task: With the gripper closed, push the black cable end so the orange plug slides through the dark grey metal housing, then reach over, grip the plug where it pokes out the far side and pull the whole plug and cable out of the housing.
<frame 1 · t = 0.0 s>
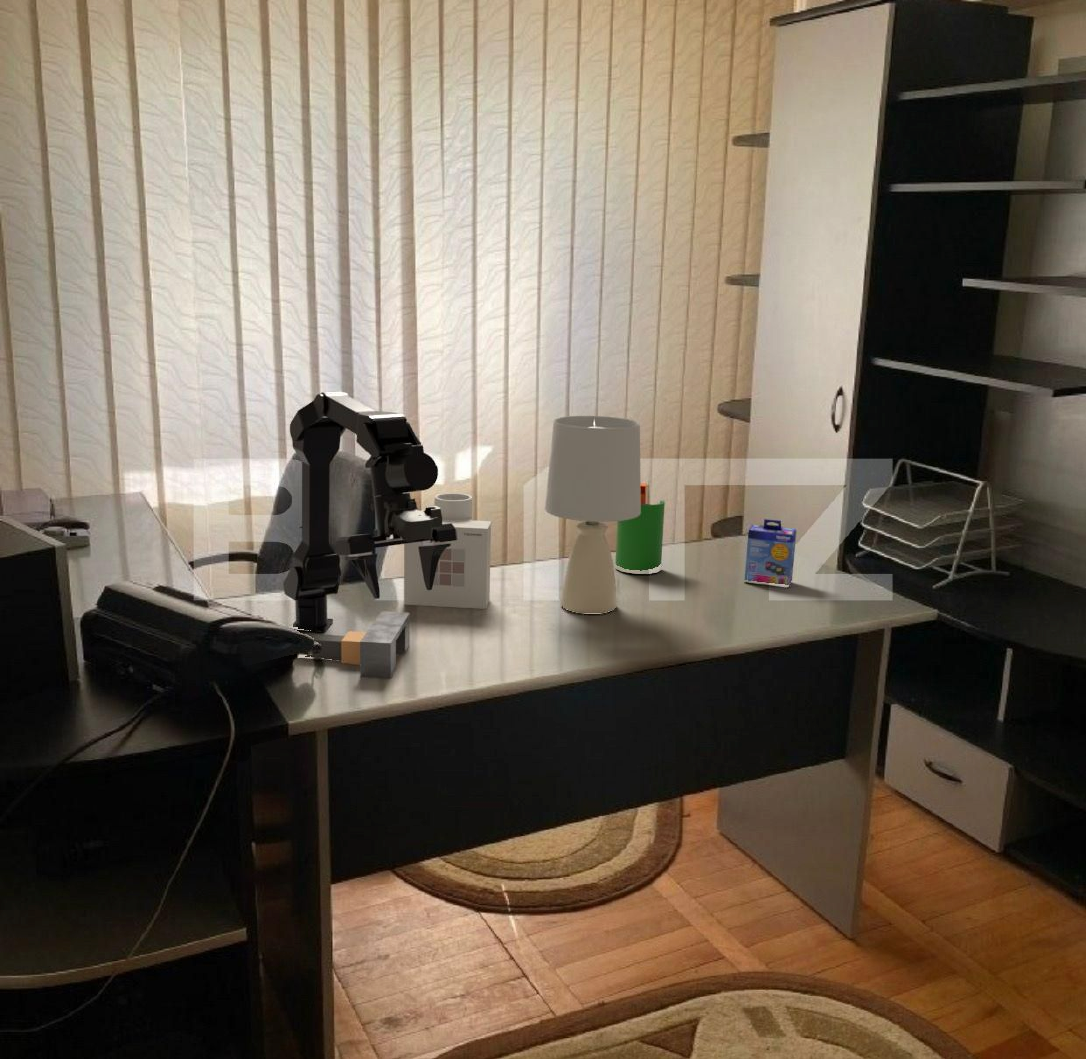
hand: (403, 594, 176), 15 cm above the table, tool pointing down, fingers open, 9 cm apart
housing: (385, 660, 191), on the table
lamp: (588, 607, 223), on the table
ink cartridge box: (767, 584, 244), on the table
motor: (638, 571, 251), on the table
control panel: (451, 594, 229), on the table
plug: (333, 657, 191), on the table
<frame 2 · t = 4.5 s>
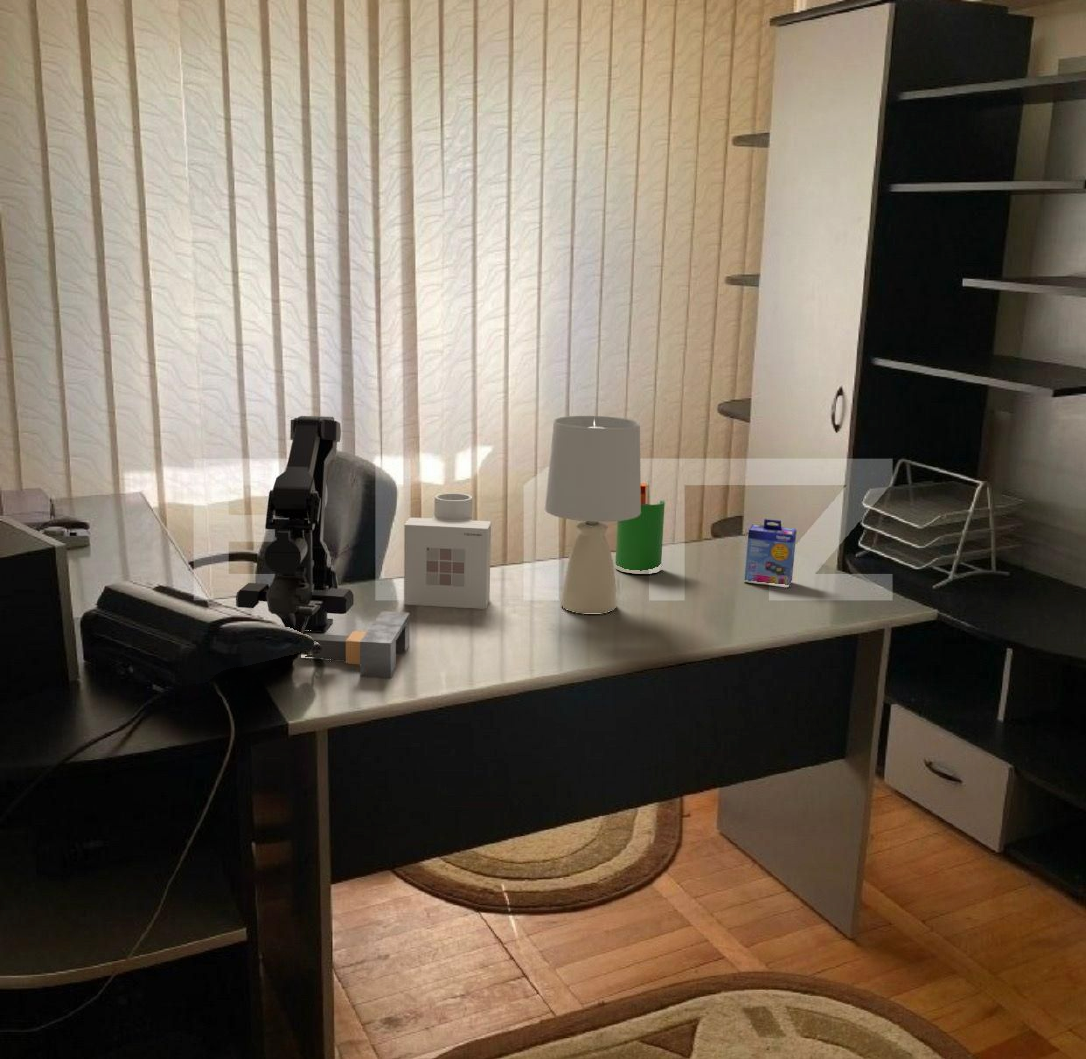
hand: (295, 646, 191), 2 cm above the table, tool pointing down, fingers closed
plug: (338, 657, 191), on the table, touching gripper
everything else where it was.
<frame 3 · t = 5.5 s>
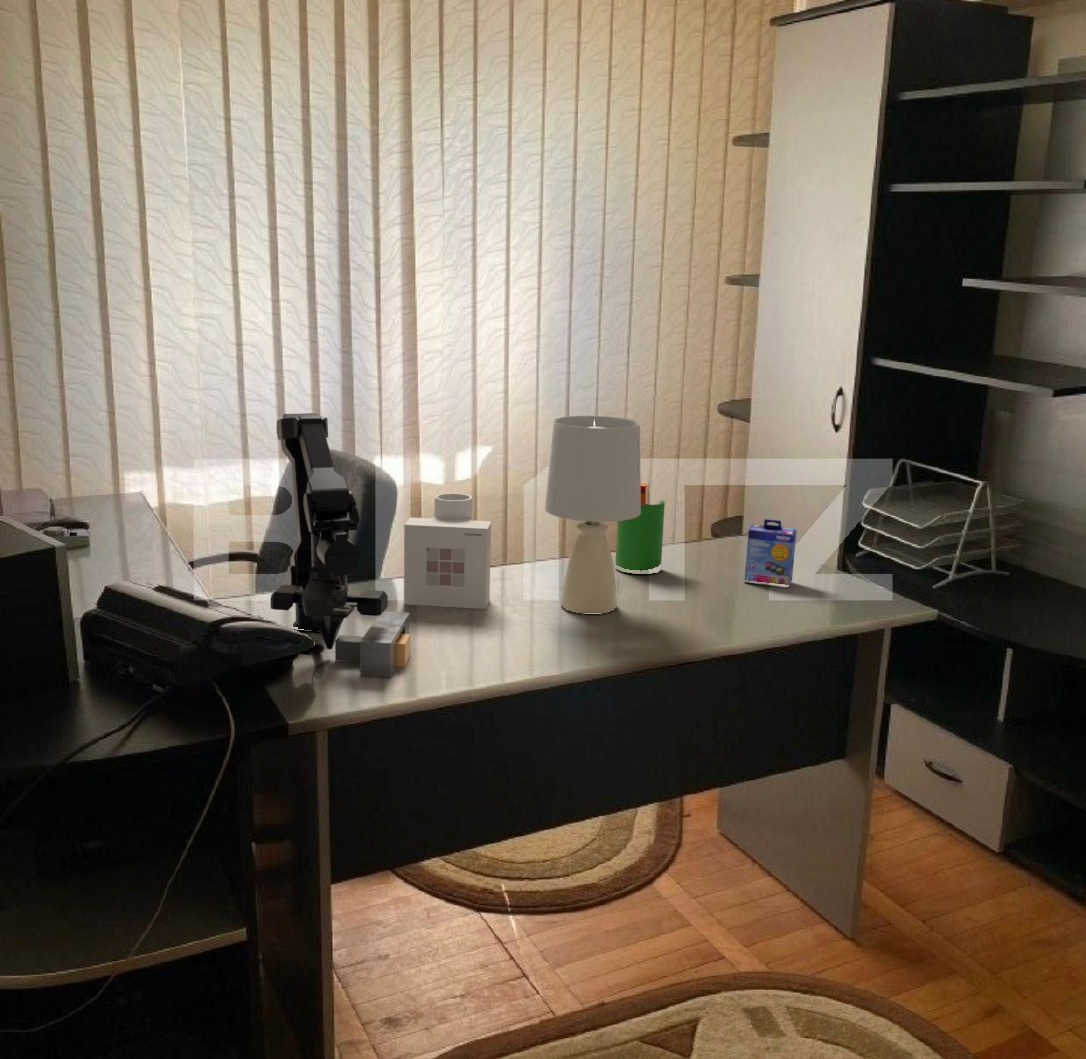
hand: (330, 648, 191), 2 cm above the table, tool pointing down, fingers closed
plug: (372, 659, 191), on the table, touching gripper
everything else where it was.
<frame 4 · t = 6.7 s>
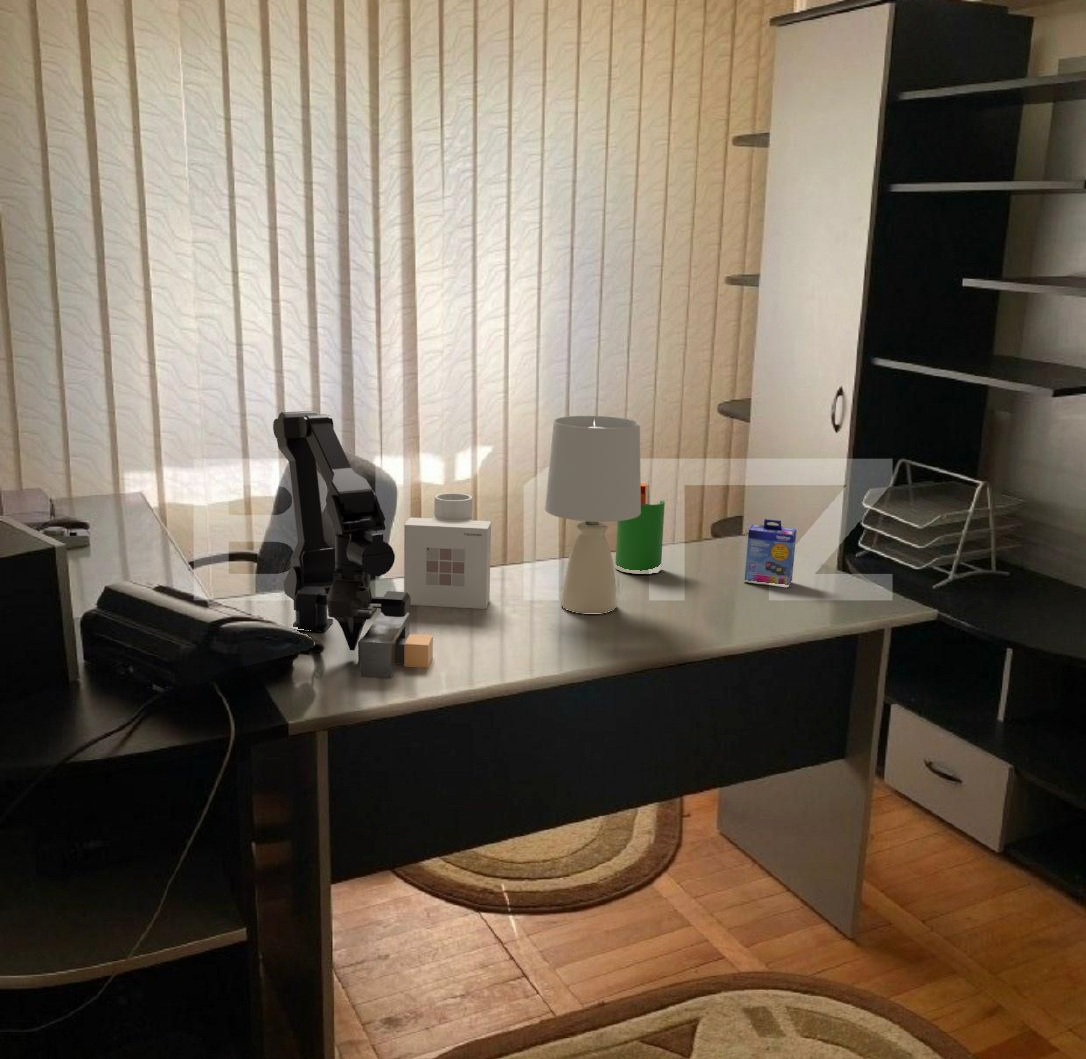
hand: (352, 649, 191), 2 cm above the table, tool pointing down, fingers closed
plug: (395, 660, 191), on the table, touching gripper
everything else where it was.
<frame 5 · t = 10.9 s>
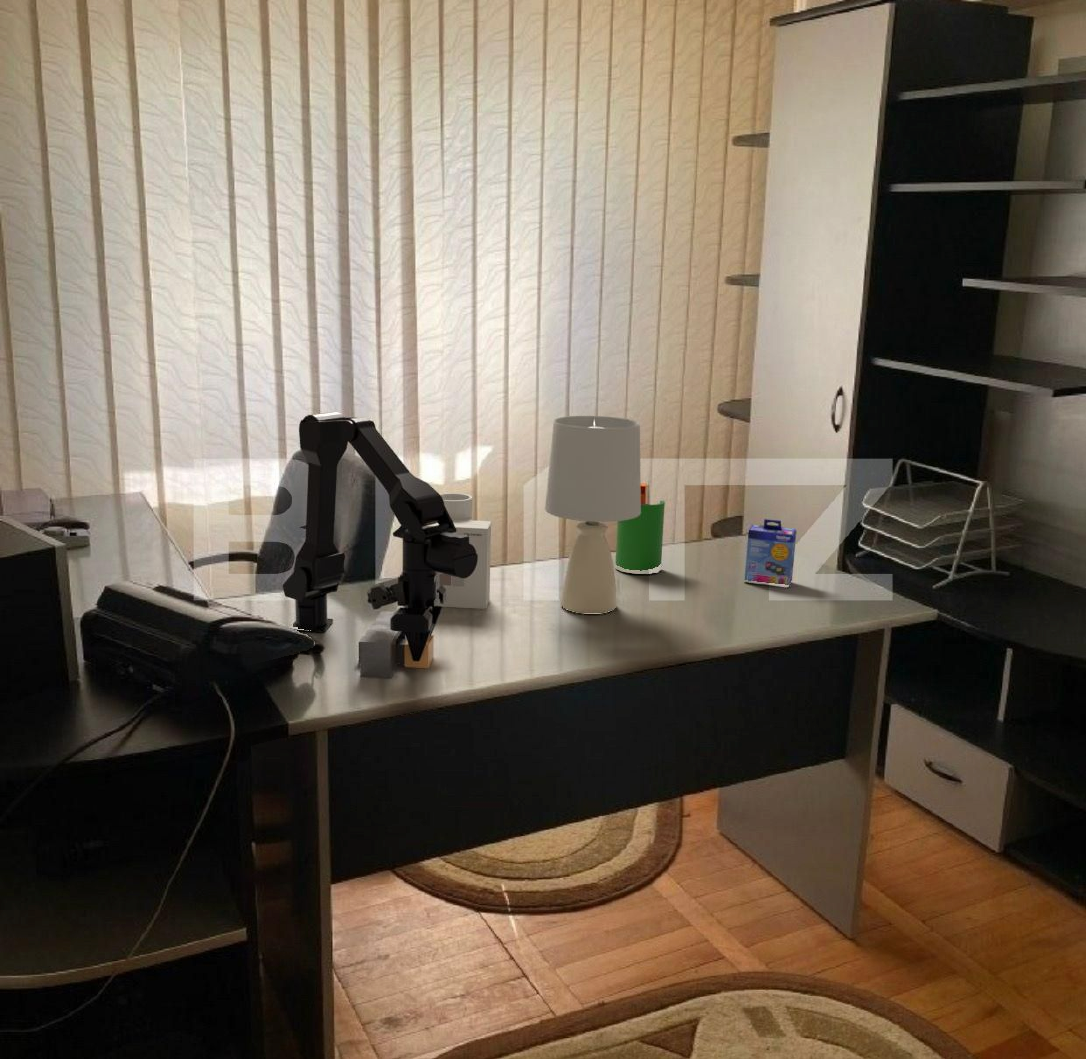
hand: (419, 655, 190), 1 cm above the table, tool pointing down, fingers closed on plug, 5 cm apart
plug: (395, 660, 191), on the table, touching gripper
everything else where it was.
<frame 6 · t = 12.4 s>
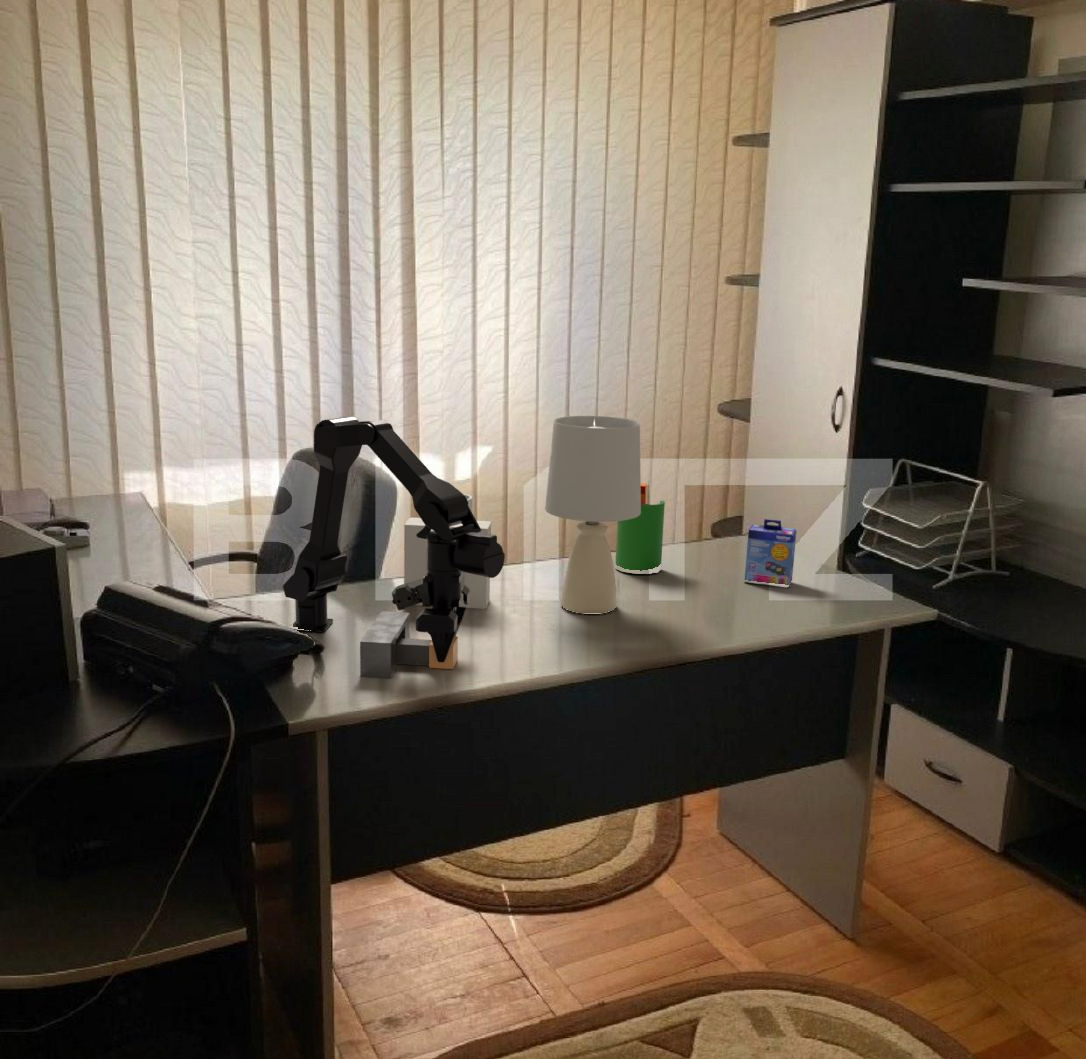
hand: (443, 656, 190), 1 cm above the table, tool pointing down, fingers closed on plug, 5 cm apart
plug: (420, 661, 190), on the table, touching gripper
everything else where it was.
when the fingers open (1 cm above the table, at t = 13.9 s): plug stays where it is, on the table.
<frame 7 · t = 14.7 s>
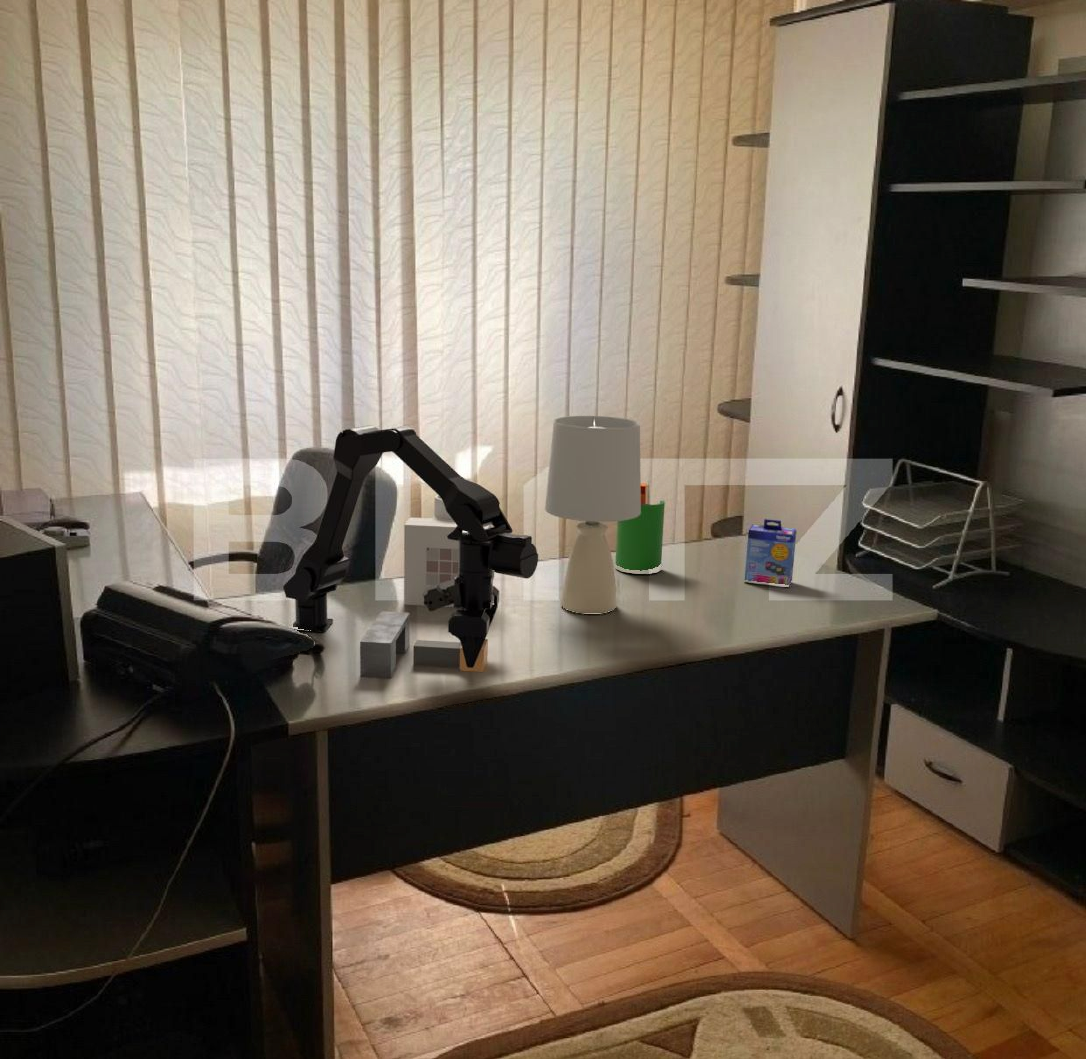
hand: (474, 657, 189), 1 cm above the table, tool pointing down, fingers open, 9 cm apart
plug: (450, 664, 190), on the table
everything else where it was.
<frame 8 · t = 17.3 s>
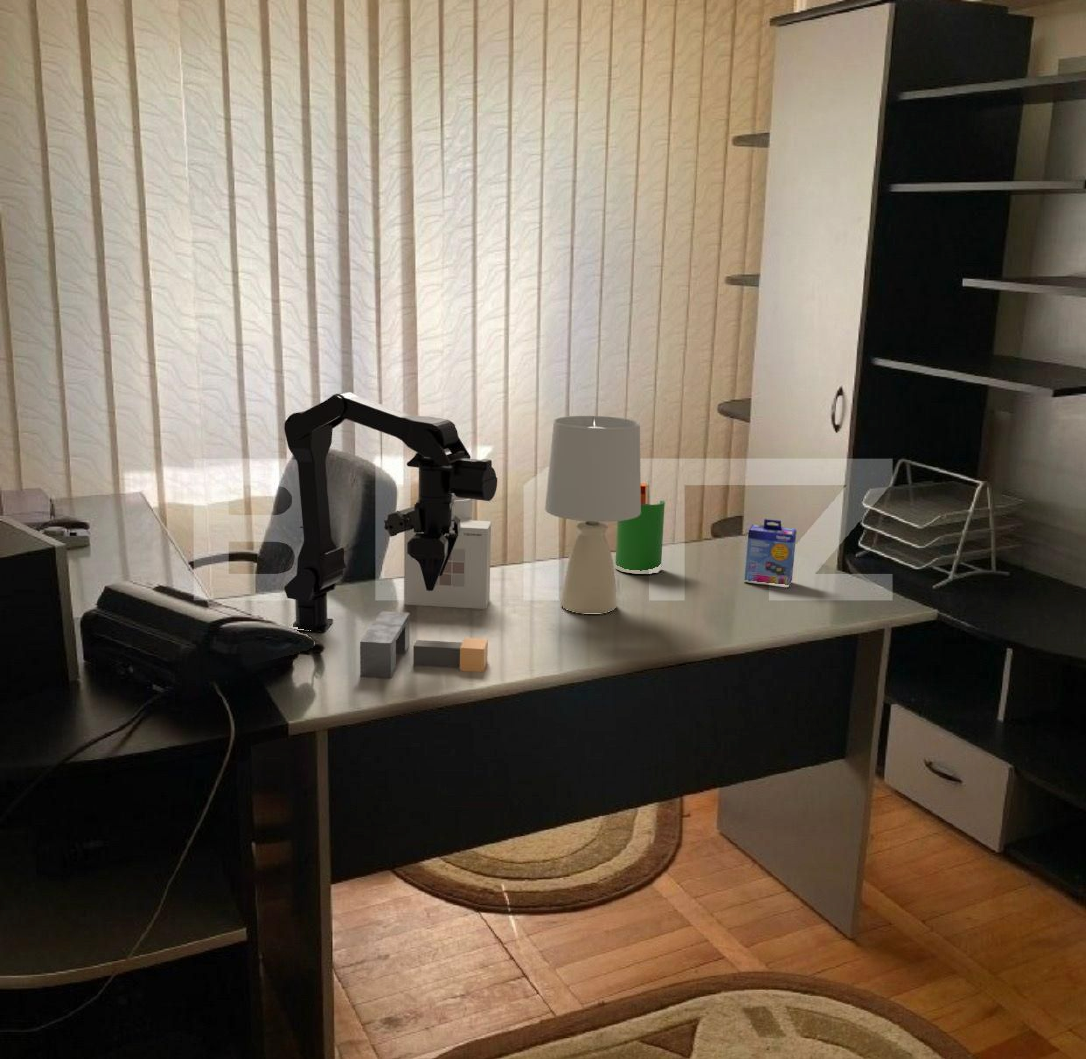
hand: (434, 582, 194), 12 cm above the table, tool pointing down, fingers open, 9 cm apart
nothing on the table moved.
at the end: plug inside the target area (3.0 cm from its centre), on the table; plug touching table; plug moved 20.0 cm from its start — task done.
